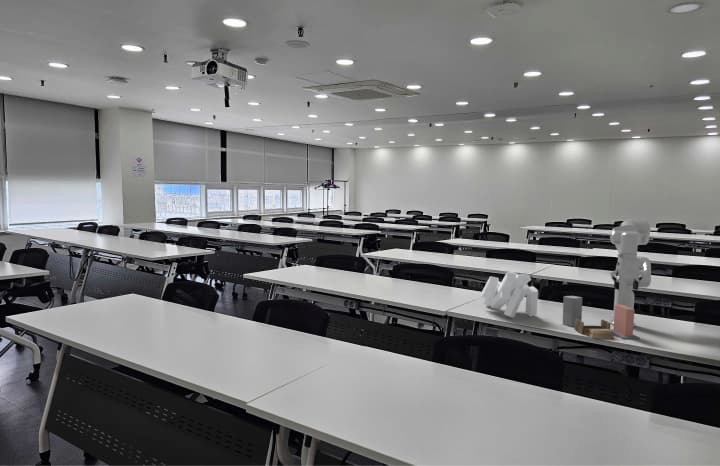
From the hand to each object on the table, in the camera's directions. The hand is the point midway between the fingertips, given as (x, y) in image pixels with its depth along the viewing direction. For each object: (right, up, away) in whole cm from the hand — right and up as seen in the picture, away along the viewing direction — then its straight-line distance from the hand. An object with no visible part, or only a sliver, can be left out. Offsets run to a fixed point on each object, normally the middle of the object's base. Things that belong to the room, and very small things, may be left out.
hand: (625, 289), depth 230 cm
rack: (-15, -23, +6) cm, 28 cm away
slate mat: (-1, -24, +2) cm, 24 cm away
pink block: (-1, -23, +2) cm, 23 cm away
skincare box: (-19, -22, +19) cm, 35 cm away
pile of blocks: (-47, -20, +42) cm, 66 cm away
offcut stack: (-14, -24, -2) cm, 28 cm away
